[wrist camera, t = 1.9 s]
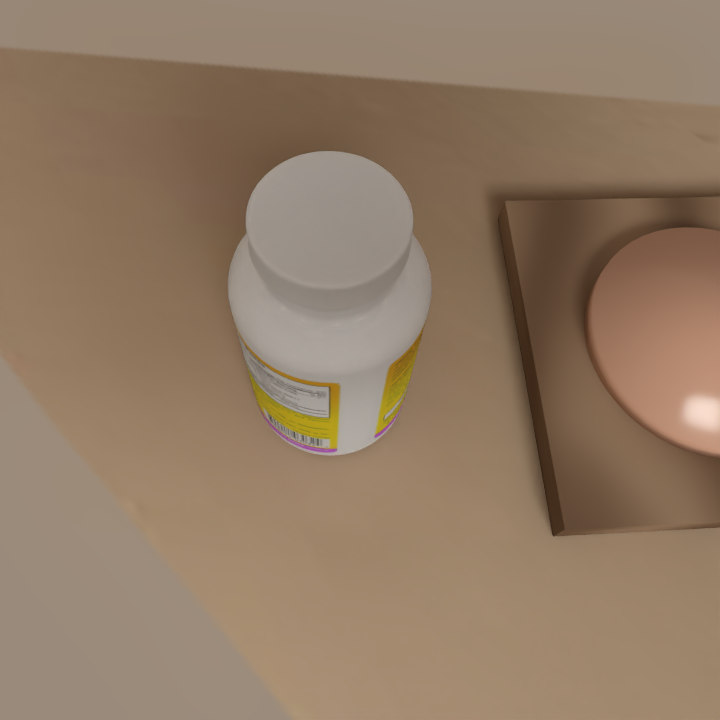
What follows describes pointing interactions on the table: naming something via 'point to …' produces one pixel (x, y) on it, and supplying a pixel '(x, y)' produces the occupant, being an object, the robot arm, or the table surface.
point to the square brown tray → (578, 376)
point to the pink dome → (662, 335)
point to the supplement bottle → (329, 300)
